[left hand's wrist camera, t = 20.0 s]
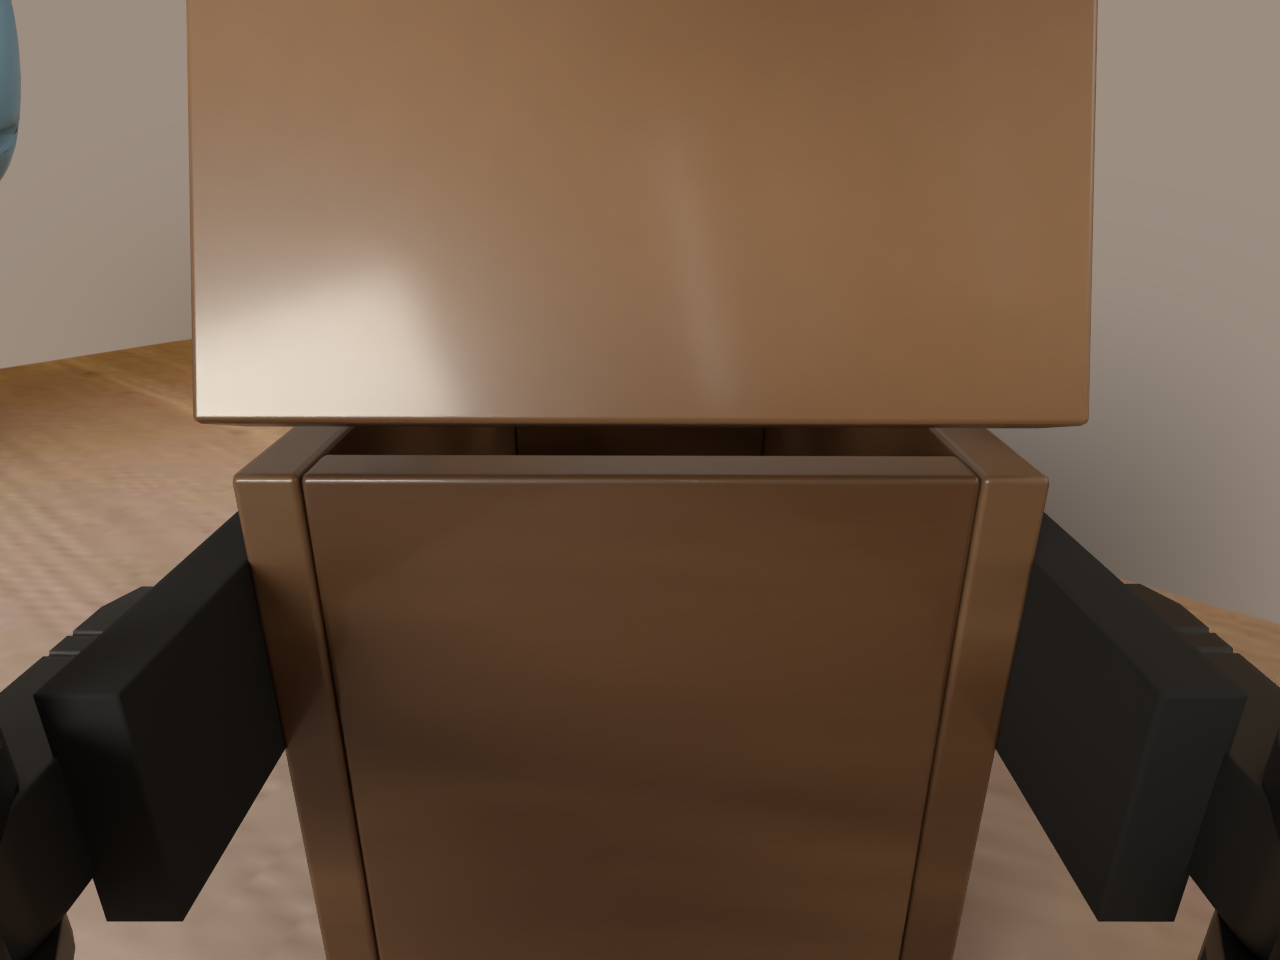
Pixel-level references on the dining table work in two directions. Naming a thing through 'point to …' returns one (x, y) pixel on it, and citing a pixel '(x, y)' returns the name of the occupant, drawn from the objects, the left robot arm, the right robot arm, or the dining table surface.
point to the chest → (640, 683)
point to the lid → (641, 212)
